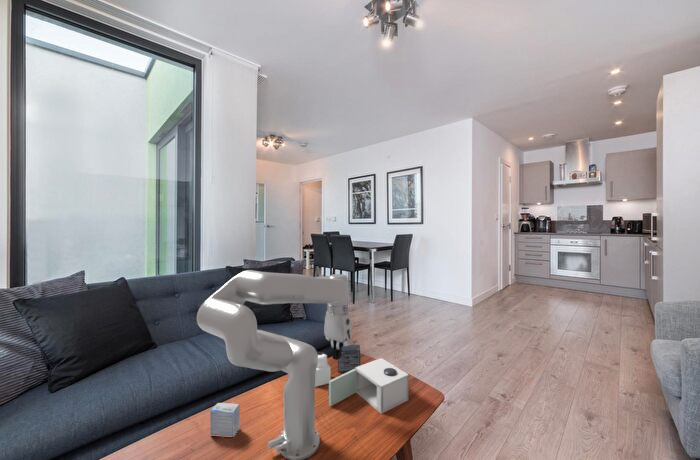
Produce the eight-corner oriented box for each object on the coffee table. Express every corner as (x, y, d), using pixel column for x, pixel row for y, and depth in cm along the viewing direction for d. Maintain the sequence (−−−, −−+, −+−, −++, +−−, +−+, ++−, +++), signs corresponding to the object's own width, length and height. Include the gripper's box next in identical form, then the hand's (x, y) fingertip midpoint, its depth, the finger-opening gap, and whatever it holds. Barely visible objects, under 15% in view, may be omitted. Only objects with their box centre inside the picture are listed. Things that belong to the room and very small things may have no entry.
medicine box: (240, 429, 93) (240, 403, 93) (233, 439, 89) (233, 412, 89) (218, 427, 94) (217, 402, 94) (210, 437, 90) (209, 410, 89)
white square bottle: (309, 378, 123) (309, 351, 123) (325, 375, 126) (325, 348, 126) (314, 387, 117) (314, 359, 116) (330, 383, 120) (330, 355, 119)
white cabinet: (381, 413, 101) (381, 384, 100) (355, 391, 114) (355, 366, 113) (408, 399, 108) (408, 372, 108) (381, 380, 122) (381, 356, 121)
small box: (360, 365, 135) (360, 344, 134) (360, 372, 128) (360, 350, 128) (338, 365, 135) (338, 344, 134) (337, 372, 128) (337, 350, 128)
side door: (327, 403, 105) (327, 379, 105) (352, 390, 114) (352, 367, 114) (330, 406, 104) (330, 382, 104) (356, 392, 113) (356, 369, 112)
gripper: (360, 310, 101) (359, 360, 101) (329, 302, 110) (328, 349, 110) (347, 315, 95) (346, 368, 95) (315, 307, 104) (315, 356, 104)
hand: (337, 358), depth 103 cm, fingers closed
